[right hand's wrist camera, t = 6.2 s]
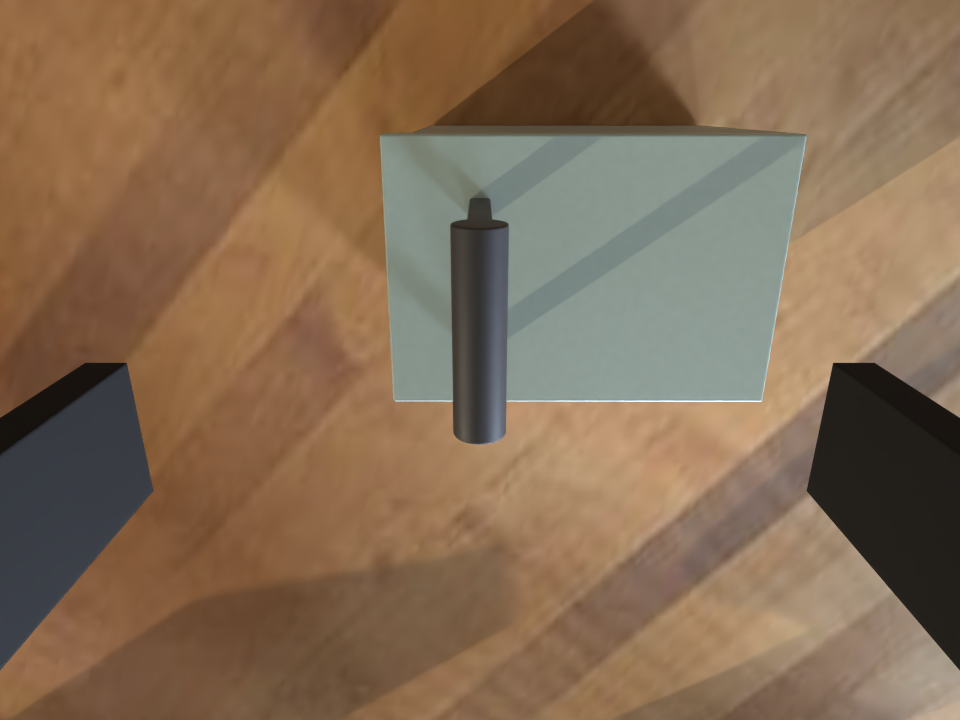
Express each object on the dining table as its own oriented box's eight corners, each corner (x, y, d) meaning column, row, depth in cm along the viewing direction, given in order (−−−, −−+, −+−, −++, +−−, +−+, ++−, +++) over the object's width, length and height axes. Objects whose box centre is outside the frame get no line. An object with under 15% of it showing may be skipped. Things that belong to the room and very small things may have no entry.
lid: (396, 388, 26) (362, 504, 18) (384, 132, 22) (335, 145, 15) (750, 389, 26) (860, 505, 18) (791, 132, 22) (948, 145, 15)
